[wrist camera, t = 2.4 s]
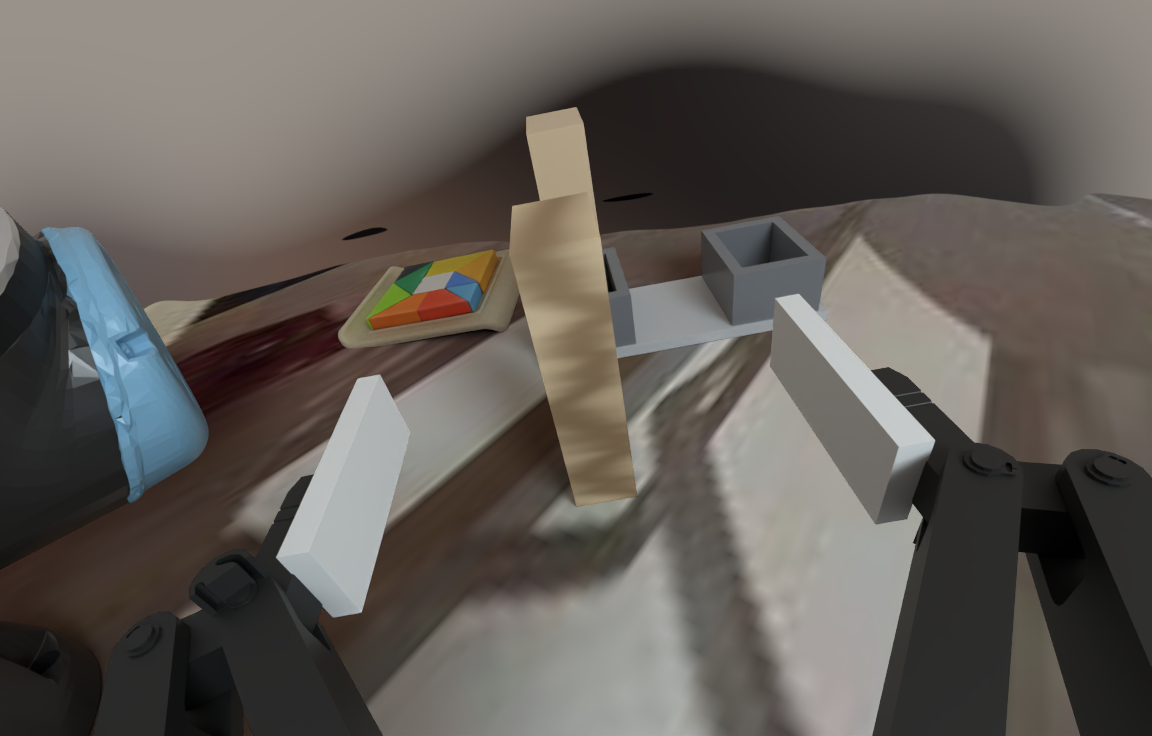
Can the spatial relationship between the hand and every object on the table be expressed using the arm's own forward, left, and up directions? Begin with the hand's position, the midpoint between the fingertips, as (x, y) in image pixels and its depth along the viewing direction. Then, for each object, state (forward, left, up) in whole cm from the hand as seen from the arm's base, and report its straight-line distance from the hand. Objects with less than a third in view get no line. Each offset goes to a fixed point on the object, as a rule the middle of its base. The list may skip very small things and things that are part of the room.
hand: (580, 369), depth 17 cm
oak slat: (0, +10, -17) cm, 19 cm away
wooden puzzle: (-16, +40, -17) cm, 46 cm away
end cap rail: (+9, +27, -17) cm, 33 cm away
